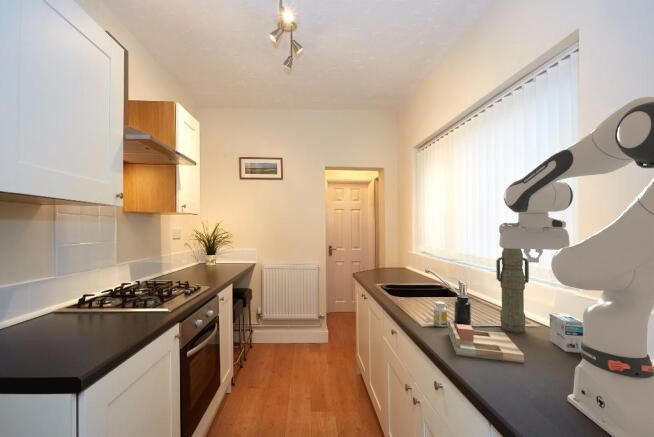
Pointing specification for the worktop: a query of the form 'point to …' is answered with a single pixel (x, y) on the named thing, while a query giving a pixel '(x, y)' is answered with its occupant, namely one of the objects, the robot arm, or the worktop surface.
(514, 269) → the thermos
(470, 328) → the block
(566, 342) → the light bulb box
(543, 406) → the worktop surface
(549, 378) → the worktop surface
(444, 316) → the supplement bottle
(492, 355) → the board
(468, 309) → the supplement bottle
